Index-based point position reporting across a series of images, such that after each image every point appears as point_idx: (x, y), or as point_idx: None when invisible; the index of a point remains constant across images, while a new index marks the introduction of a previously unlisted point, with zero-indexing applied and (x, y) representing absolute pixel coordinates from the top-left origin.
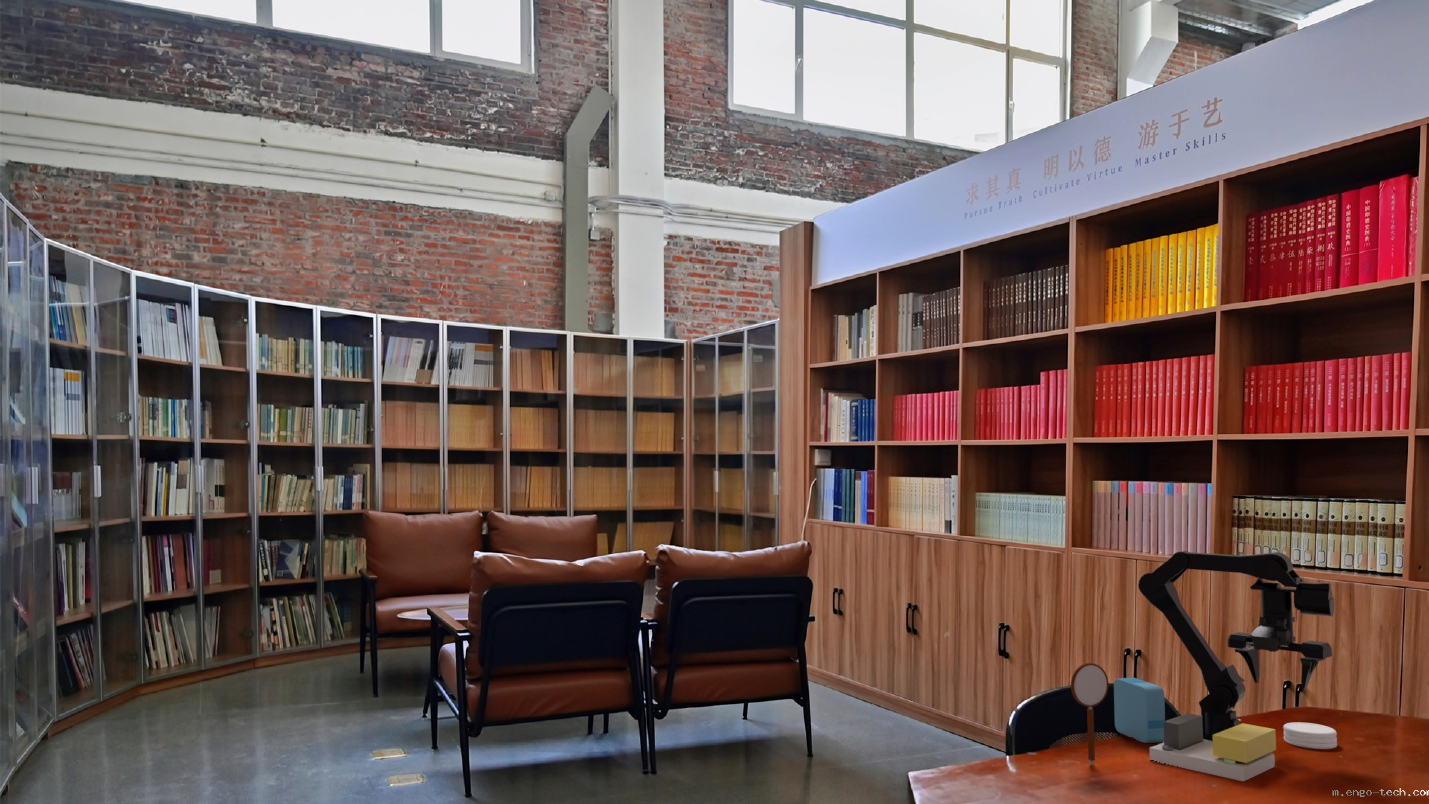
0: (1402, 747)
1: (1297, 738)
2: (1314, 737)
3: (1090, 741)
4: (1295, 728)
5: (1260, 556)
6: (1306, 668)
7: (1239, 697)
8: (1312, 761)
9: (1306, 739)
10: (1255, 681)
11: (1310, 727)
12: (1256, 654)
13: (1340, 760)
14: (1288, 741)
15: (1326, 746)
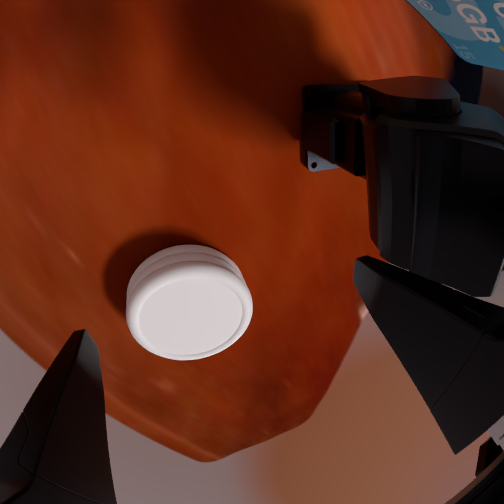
0: None
1: (183, 254)
2: (144, 278)
3: None
4: (208, 288)
5: None
6: (9, 461)
7: (369, 146)
8: (62, 133)
9: (160, 262)
10: (367, 259)
11: (194, 327)
12: (457, 413)
13: (43, 217)
14: (211, 248)
15: (128, 284)
